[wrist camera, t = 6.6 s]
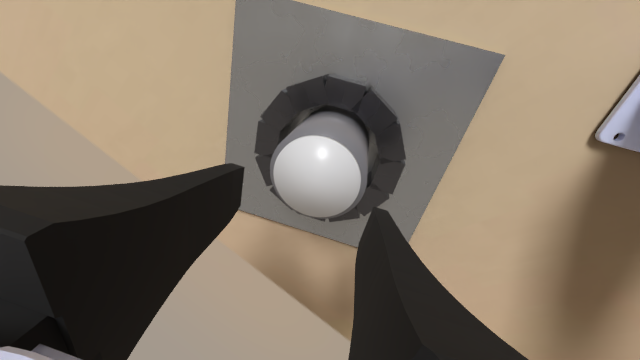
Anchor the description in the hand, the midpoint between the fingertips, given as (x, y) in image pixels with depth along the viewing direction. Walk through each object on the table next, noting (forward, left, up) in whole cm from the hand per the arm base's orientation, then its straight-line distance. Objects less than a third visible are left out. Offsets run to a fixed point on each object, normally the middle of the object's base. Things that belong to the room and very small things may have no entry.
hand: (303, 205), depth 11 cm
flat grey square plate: (0, 0, -9) cm, 9 cm away
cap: (0, 0, -8) cm, 8 cm away
